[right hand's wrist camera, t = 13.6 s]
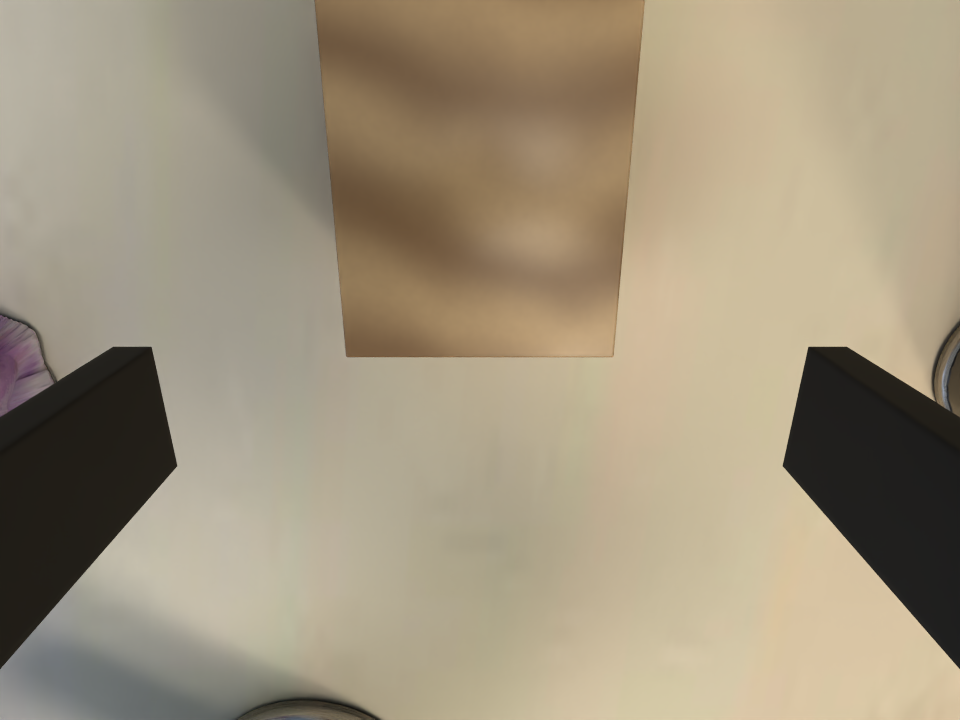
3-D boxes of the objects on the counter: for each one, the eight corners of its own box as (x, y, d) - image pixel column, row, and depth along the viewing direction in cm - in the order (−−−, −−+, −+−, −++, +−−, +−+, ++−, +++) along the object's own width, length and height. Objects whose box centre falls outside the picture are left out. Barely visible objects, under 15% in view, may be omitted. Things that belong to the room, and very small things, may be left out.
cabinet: (353, -181, 25) (283, -345, 16) (606, -181, 25) (675, -345, 16) (382, 292, 33) (345, 357, 24) (577, 292, 33) (613, 357, 24)
